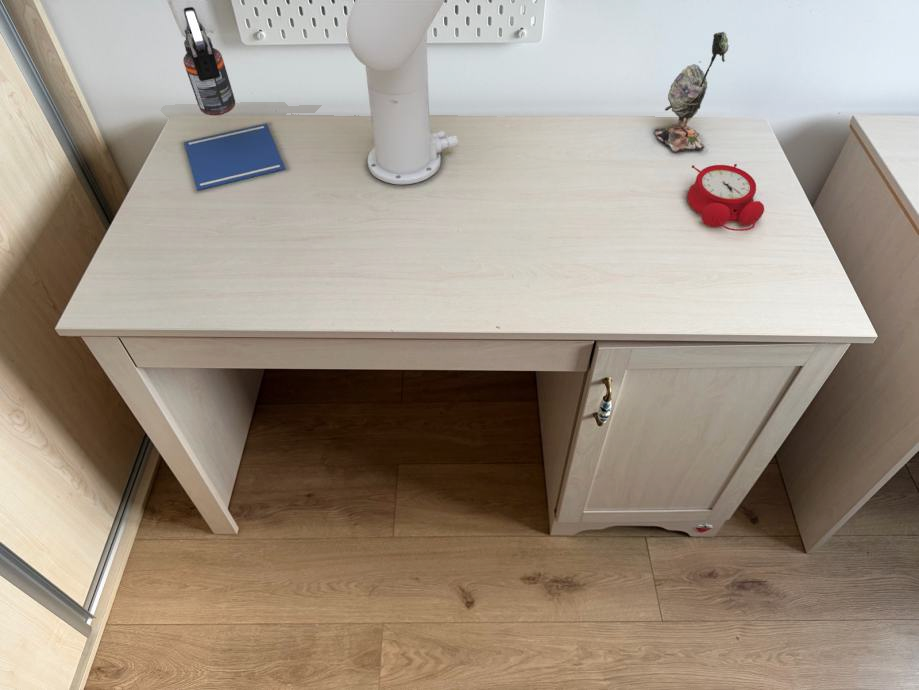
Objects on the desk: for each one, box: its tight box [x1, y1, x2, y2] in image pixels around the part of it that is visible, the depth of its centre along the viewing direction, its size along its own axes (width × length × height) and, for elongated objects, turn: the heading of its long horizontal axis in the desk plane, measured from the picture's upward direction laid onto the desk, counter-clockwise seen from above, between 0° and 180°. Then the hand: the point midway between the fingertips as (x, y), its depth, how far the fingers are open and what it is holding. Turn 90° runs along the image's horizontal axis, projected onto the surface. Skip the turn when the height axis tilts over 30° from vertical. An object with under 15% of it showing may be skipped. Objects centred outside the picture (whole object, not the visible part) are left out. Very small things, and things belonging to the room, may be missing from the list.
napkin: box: [183, 123, 286, 191], centre depth 119 cm, size 15×15×1 cm
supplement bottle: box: [182, 35, 236, 117], centre depth 107 cm, size 6×6×11 cm
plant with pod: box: [653, 31, 730, 153], centre depth 114 cm, size 8×11×20 cm
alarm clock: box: [686, 163, 765, 232], centre depth 107 cm, size 10×6×15 cm
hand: (206, 67), depth 106 cm, fingers closed on supplement bottle, 5 cm apart
